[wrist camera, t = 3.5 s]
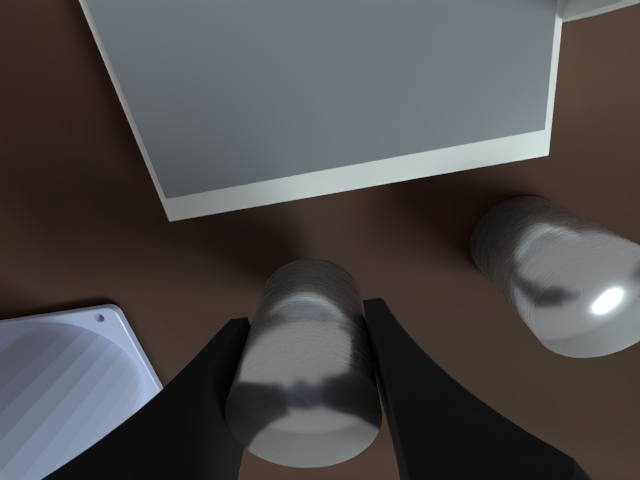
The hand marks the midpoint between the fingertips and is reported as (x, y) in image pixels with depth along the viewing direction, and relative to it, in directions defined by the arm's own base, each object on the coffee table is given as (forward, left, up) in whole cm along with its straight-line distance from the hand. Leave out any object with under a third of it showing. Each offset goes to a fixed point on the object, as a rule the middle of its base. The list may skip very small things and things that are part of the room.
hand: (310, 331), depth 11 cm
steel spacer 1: (0, 0, -2) cm, 2 cm away
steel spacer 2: (+9, 0, -4) cm, 10 cm away
